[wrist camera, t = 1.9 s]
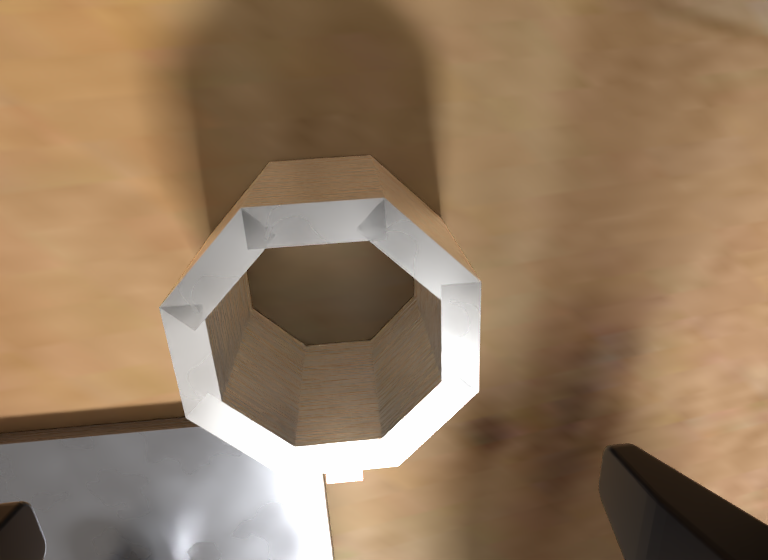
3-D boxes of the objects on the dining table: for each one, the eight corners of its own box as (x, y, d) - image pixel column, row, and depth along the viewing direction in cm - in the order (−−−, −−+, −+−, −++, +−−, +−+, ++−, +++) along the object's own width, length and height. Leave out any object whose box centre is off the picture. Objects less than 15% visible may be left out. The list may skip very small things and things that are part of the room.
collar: (440, 150, 16) (482, 190, 11) (443, 389, 19) (476, 496, 14) (197, 166, 15) (137, 214, 11) (242, 407, 19) (210, 523, 14)
